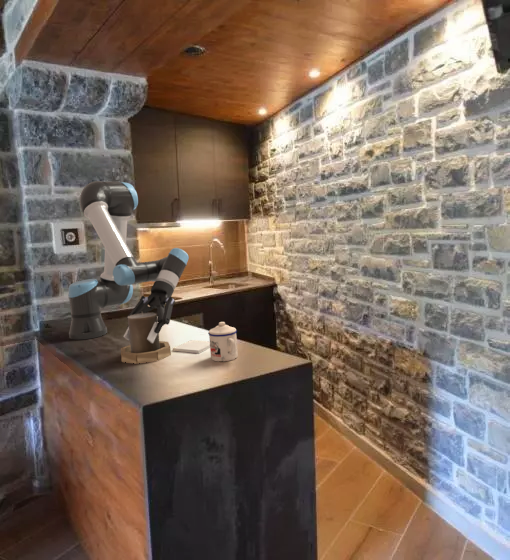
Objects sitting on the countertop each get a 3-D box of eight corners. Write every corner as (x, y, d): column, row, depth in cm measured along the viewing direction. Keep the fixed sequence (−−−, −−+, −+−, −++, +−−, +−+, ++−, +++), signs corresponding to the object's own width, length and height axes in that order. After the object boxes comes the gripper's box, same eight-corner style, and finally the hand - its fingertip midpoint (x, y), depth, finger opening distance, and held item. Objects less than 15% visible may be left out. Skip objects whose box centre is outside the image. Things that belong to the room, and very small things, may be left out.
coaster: (172, 350, 151) (172, 348, 151) (191, 342, 161) (191, 340, 161) (198, 353, 146) (198, 350, 146) (216, 344, 156) (216, 341, 156)
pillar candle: (162, 356, 145) (158, 311, 143) (132, 360, 141) (128, 315, 139) (158, 349, 154) (154, 307, 152) (129, 353, 150) (125, 310, 149)
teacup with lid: (205, 357, 141) (202, 322, 140) (230, 351, 146) (227, 318, 144) (222, 366, 131) (219, 328, 129) (248, 360, 136) (245, 323, 134)
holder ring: (111, 360, 144) (110, 352, 144) (144, 347, 158) (143, 339, 158) (148, 365, 137) (147, 356, 136) (179, 351, 151) (178, 342, 150)
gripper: (194, 292, 153) (170, 348, 141) (146, 291, 164) (119, 343, 152) (184, 279, 148) (158, 336, 136) (135, 279, 158) (106, 331, 146)
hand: (138, 339), depth 144 cm, fingers closed on pillar candle, 9 cm apart
